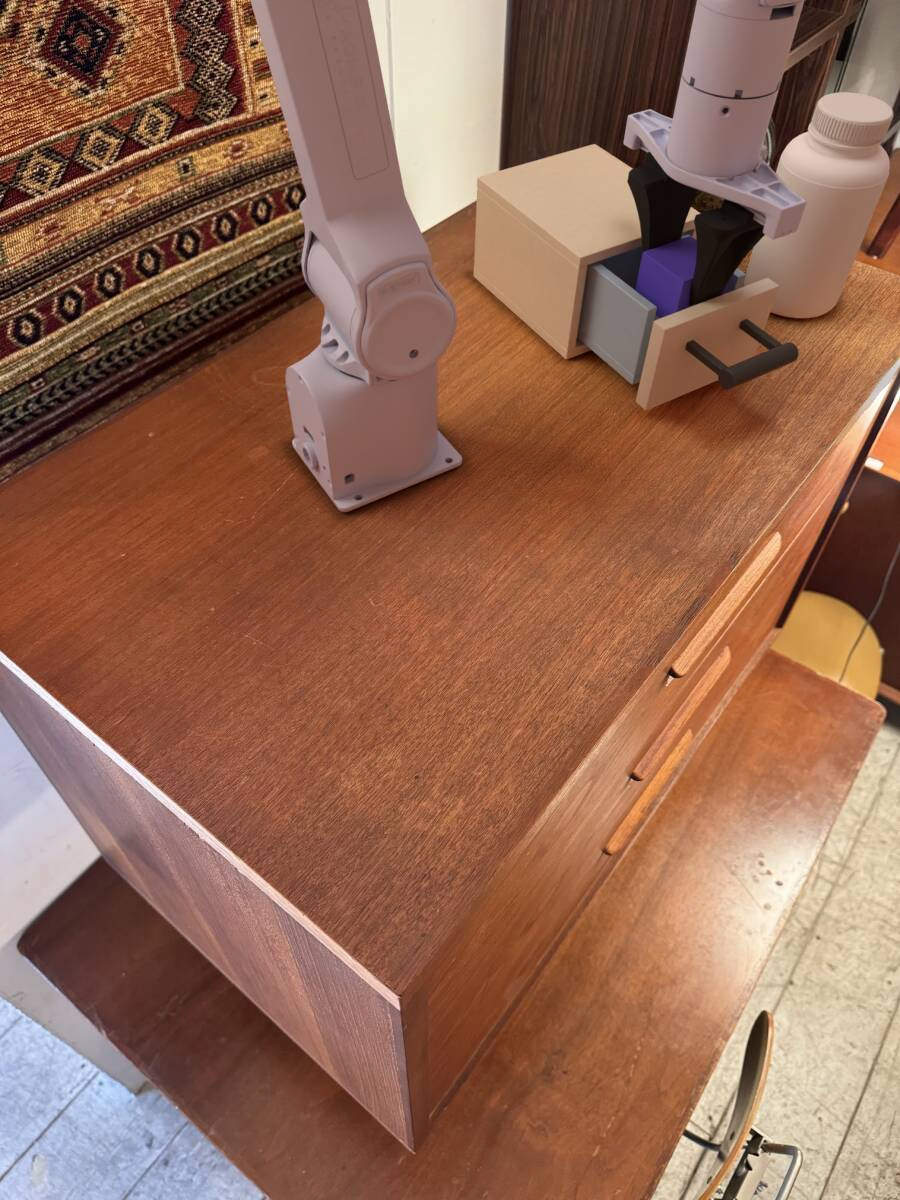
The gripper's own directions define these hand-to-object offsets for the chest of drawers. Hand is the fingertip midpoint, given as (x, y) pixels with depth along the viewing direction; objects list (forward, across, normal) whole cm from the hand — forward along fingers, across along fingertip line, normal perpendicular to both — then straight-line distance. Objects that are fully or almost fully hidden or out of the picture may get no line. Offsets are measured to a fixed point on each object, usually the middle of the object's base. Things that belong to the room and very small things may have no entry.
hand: (679, 286), depth 62 cm
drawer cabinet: (+7, +11, 0) cm, 13 cm away
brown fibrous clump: (+7, +12, -12) cm, 19 cm away
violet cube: (+1, 0, 0) cm, 1 cm away
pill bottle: (+7, +2, -16) cm, 18 cm away
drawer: (+6, -1, 0) cm, 6 cm away
